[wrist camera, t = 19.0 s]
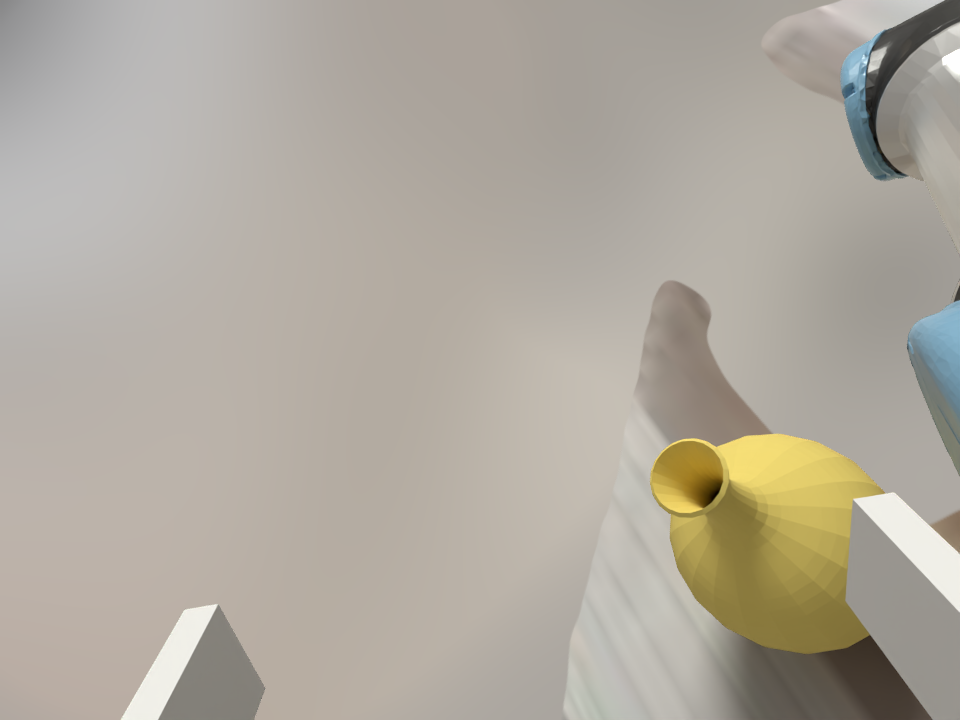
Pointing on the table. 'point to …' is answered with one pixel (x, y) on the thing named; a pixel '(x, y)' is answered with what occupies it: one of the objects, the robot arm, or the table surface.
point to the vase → (765, 535)
